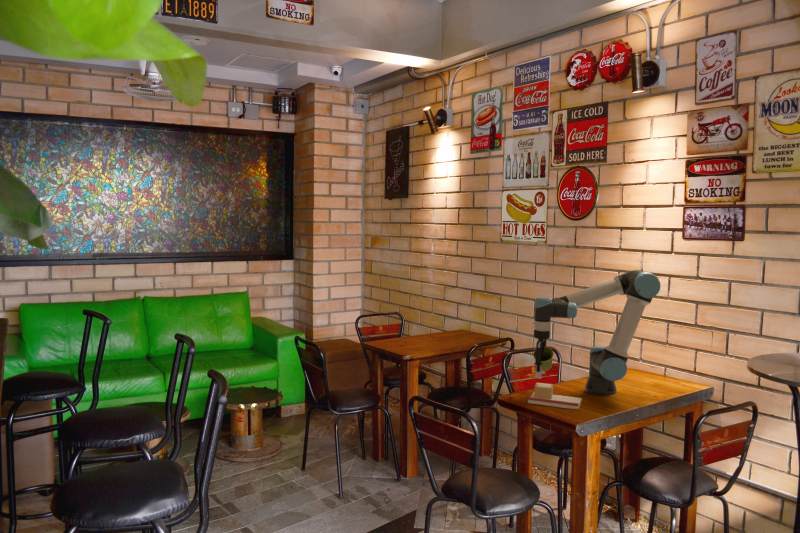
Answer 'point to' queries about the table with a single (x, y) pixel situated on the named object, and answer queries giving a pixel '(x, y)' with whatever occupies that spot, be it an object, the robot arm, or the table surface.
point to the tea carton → (543, 390)
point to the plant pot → (546, 358)
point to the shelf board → (557, 401)
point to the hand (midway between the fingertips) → (540, 375)
